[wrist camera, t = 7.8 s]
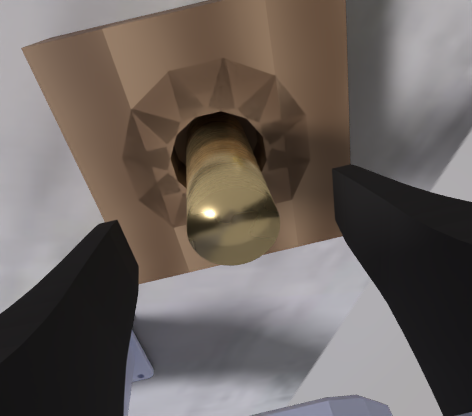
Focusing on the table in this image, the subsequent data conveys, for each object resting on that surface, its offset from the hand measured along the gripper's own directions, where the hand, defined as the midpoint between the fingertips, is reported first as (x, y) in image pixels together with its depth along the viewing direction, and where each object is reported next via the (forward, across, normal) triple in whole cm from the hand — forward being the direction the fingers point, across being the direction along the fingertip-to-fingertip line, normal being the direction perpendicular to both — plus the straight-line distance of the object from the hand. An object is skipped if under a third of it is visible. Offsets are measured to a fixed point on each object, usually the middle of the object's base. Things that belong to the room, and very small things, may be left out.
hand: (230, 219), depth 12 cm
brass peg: (+7, 0, 0) cm, 7 cm away
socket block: (+8, 0, 0) cm, 8 cm away
